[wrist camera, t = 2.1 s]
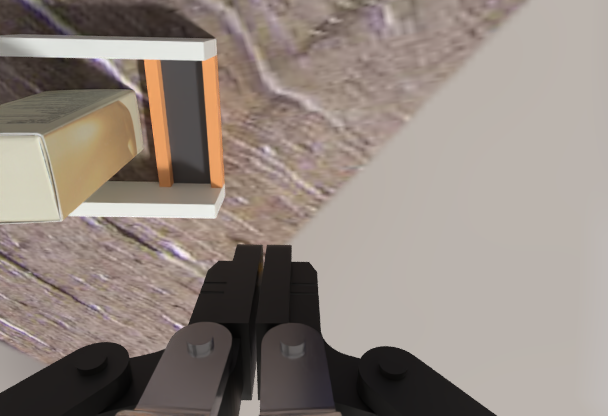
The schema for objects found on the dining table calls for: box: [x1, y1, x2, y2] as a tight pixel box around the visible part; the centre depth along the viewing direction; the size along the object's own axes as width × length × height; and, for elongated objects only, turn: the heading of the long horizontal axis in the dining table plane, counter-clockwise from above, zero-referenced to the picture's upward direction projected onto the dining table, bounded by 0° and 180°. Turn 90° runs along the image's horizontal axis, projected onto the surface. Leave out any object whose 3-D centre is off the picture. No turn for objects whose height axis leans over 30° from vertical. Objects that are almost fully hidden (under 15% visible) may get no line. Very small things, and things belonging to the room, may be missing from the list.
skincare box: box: [0, 89, 144, 224], centre depth 24 cm, size 6×4×12 cm
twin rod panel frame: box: [0, 34, 225, 218], centre depth 28 cm, size 11×12×4 cm
